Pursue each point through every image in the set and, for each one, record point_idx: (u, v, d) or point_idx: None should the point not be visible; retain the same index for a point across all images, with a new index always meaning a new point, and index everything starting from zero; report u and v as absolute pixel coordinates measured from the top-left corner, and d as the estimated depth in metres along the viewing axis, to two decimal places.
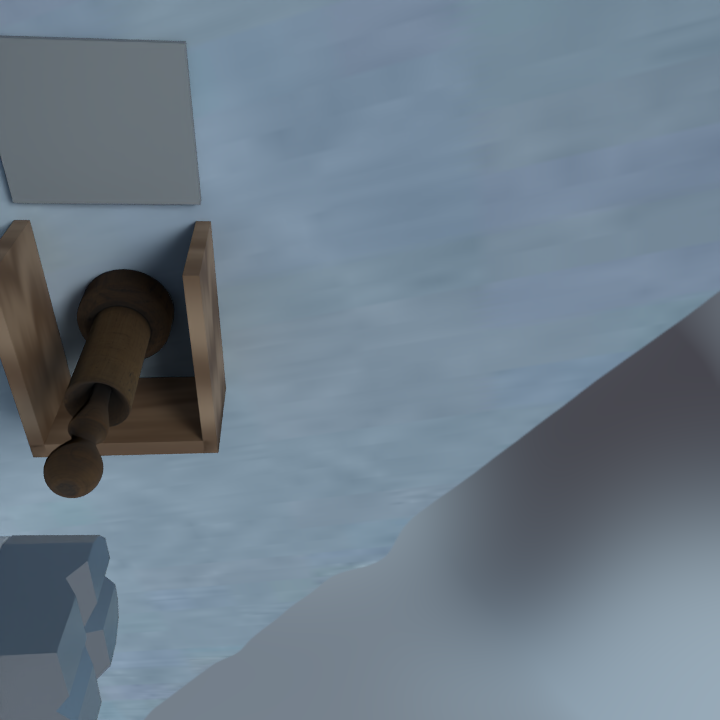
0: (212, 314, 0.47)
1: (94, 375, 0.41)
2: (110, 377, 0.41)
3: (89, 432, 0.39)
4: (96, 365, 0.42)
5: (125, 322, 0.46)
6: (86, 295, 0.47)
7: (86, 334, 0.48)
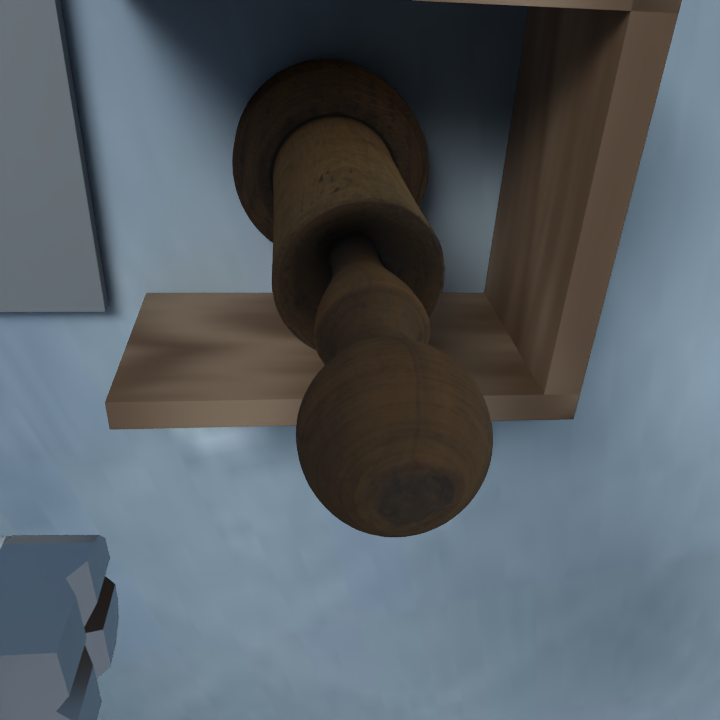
0: None
1: (272, 269, 0.15)
2: (283, 231, 0.15)
3: (345, 339, 0.12)
4: None
5: (279, 166, 0.20)
6: (262, 233, 0.24)
7: None
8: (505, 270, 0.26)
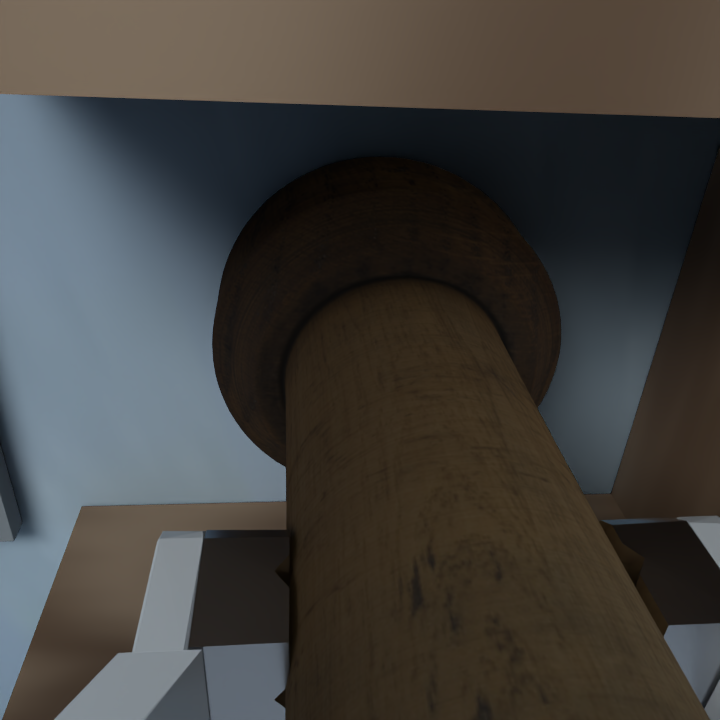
0: None
1: None
2: None
3: None
4: None
5: (298, 395, 0.10)
6: None
7: None
8: (666, 491, 0.15)
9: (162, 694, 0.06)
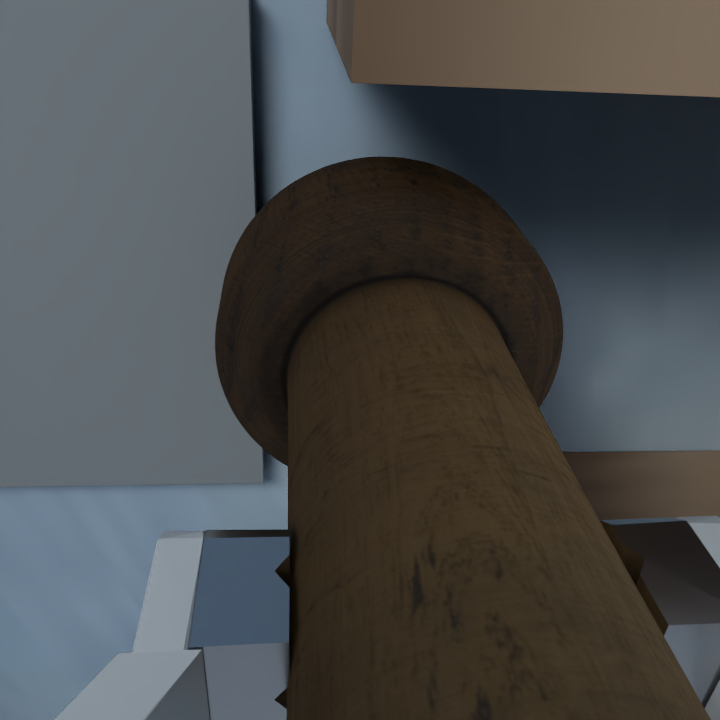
0: None
1: None
2: None
3: None
4: None
5: (300, 394, 0.10)
6: None
7: None
8: None
9: (162, 694, 0.06)
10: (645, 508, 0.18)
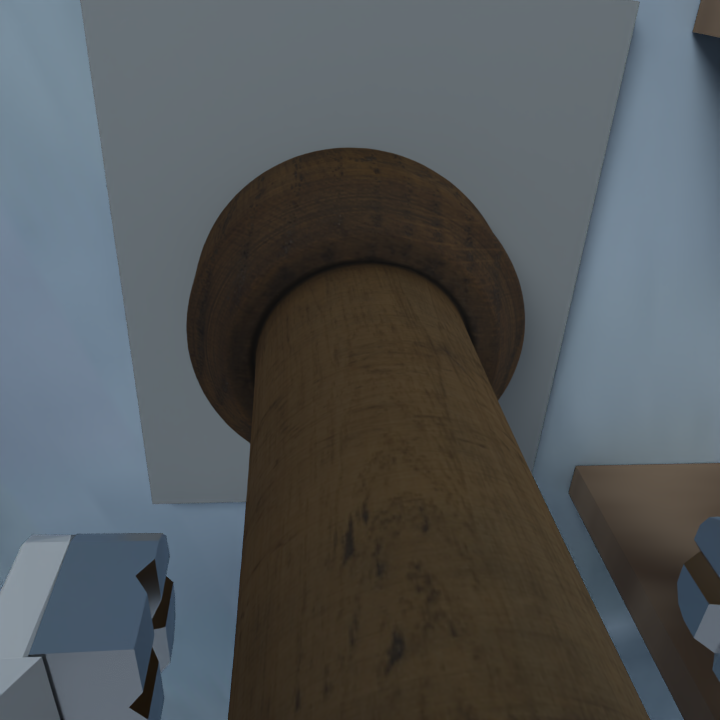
0: None
1: None
2: None
3: None
4: None
5: (263, 374, 0.11)
6: None
7: None
8: None
9: None
10: None
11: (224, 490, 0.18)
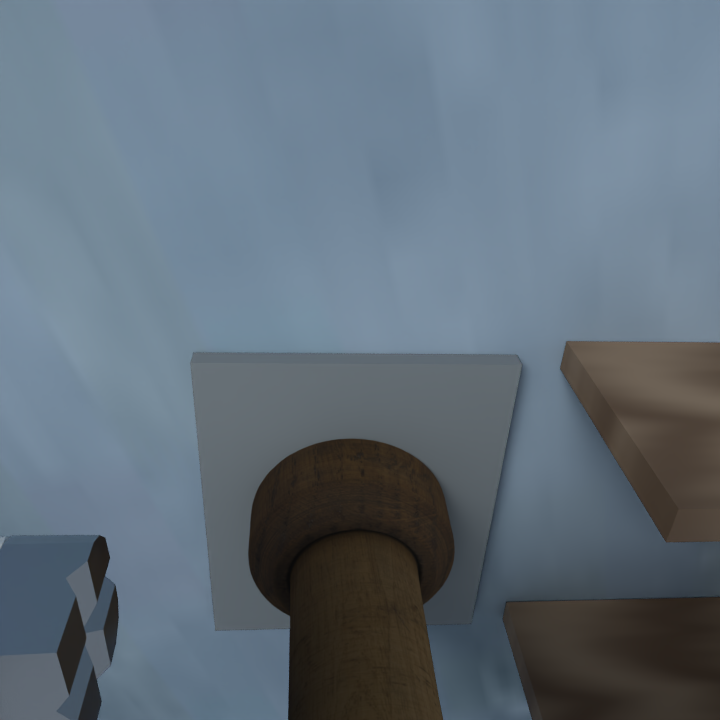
0: None
1: None
2: None
3: None
4: None
5: (296, 606, 0.19)
6: None
7: None
8: None
9: None
10: None
11: (263, 622, 0.26)
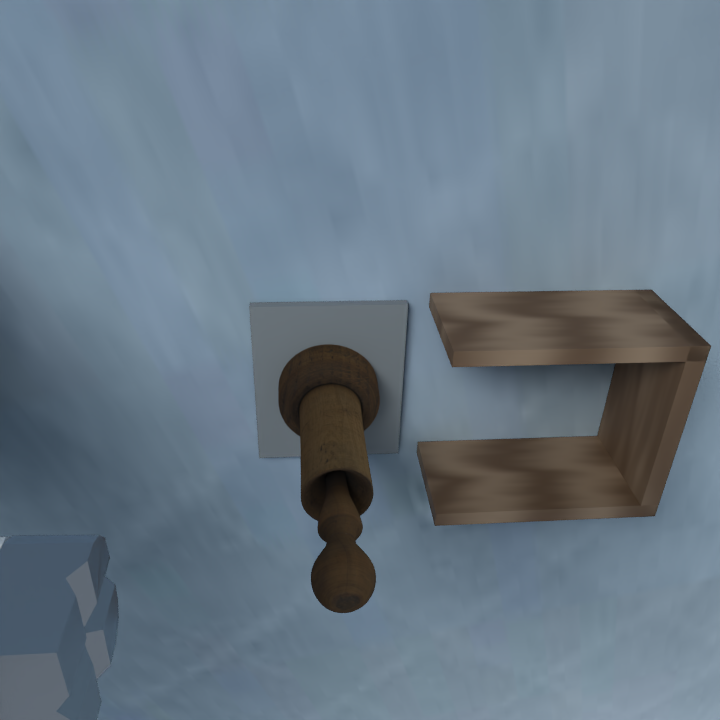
0: (527, 316, 0.41)
1: None
2: (305, 476, 0.36)
3: (329, 535, 0.34)
4: None
5: (302, 415, 0.42)
6: (293, 431, 0.45)
7: None
8: (613, 432, 0.48)
9: None
10: (542, 458, 0.49)
11: (285, 452, 0.49)
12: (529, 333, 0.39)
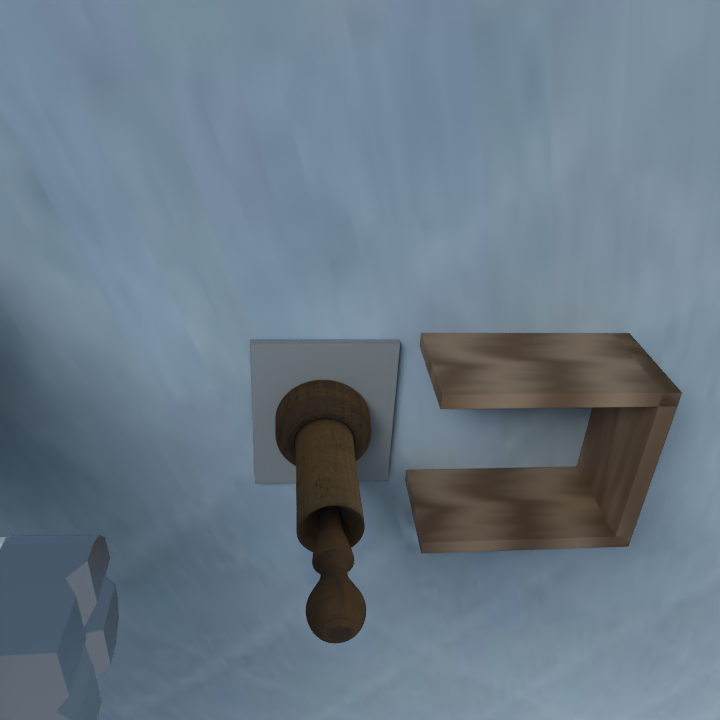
0: (512, 359, 0.44)
1: None
2: (301, 511, 0.39)
3: (322, 568, 0.36)
4: None
5: (298, 449, 0.44)
6: (289, 461, 0.48)
7: None
8: (591, 464, 0.51)
9: None
10: (523, 488, 0.51)
11: (280, 478, 0.51)
12: (513, 377, 0.42)
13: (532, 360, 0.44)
